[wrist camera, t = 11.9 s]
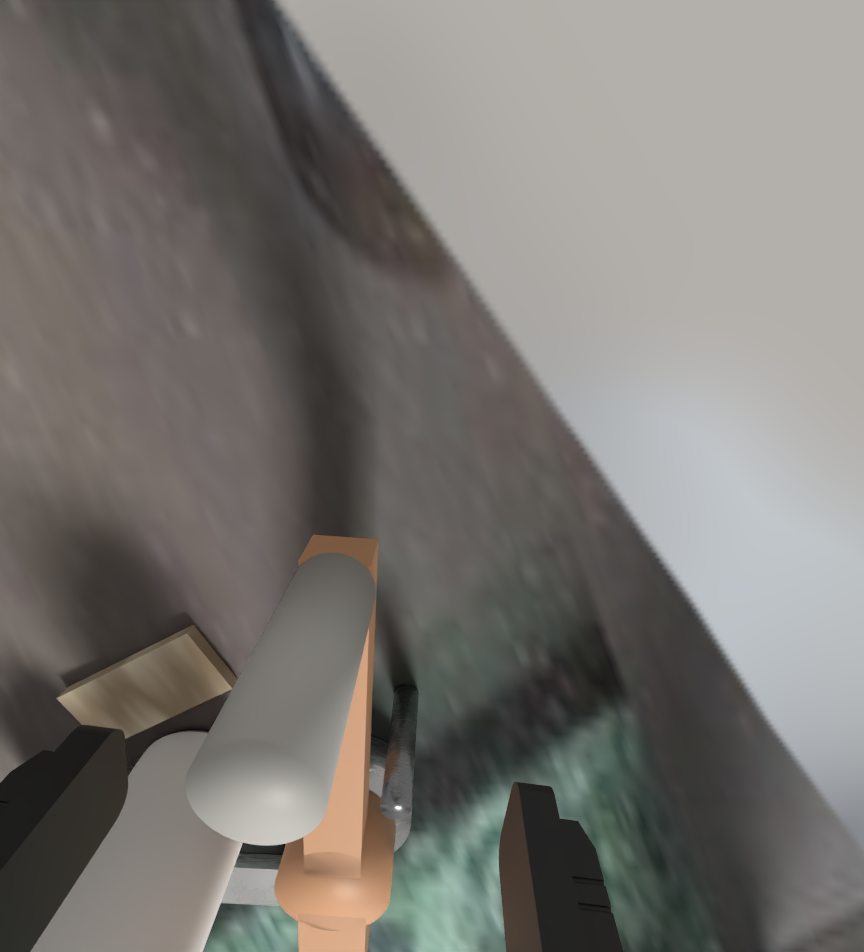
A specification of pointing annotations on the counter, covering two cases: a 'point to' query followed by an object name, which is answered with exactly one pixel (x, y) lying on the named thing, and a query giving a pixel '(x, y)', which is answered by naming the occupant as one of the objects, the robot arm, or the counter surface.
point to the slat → (150, 685)
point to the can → (149, 867)
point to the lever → (308, 750)
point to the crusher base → (385, 782)
